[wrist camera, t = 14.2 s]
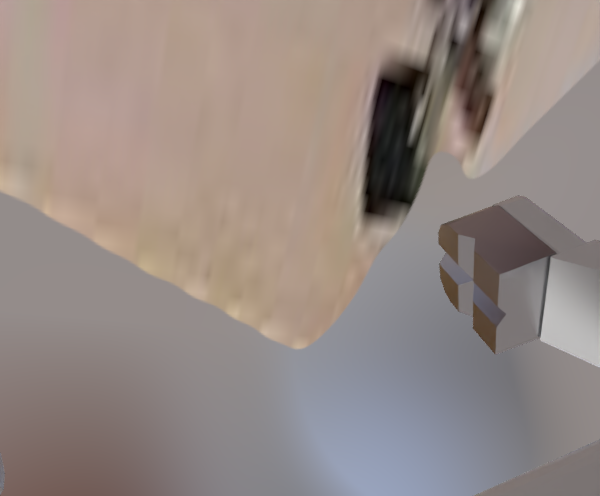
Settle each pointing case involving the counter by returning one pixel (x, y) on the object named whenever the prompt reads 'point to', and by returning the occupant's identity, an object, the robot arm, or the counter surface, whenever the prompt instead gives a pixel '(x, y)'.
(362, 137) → the counter surface
